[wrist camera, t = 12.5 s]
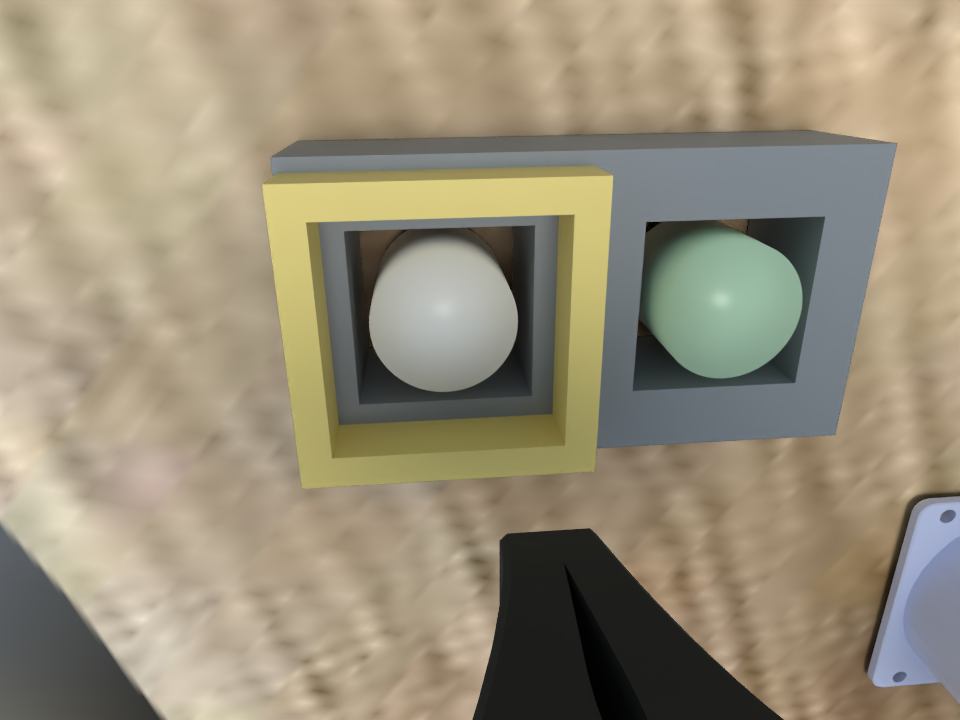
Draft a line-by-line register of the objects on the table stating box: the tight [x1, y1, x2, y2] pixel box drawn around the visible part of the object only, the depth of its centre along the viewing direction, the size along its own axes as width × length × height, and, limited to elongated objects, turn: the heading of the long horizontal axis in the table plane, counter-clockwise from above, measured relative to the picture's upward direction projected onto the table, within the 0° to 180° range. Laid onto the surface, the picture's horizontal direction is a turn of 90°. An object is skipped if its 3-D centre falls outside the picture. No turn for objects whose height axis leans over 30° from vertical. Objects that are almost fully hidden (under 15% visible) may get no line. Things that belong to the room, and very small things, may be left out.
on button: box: [638, 220, 803, 378], centre depth 17 cm, size 3×3×3 cm
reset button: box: [369, 228, 518, 392], centre depth 16 cm, size 3×3×3 cm
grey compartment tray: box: [262, 130, 897, 489], centre depth 16 cm, size 7×13×5 cm, turn 91°
